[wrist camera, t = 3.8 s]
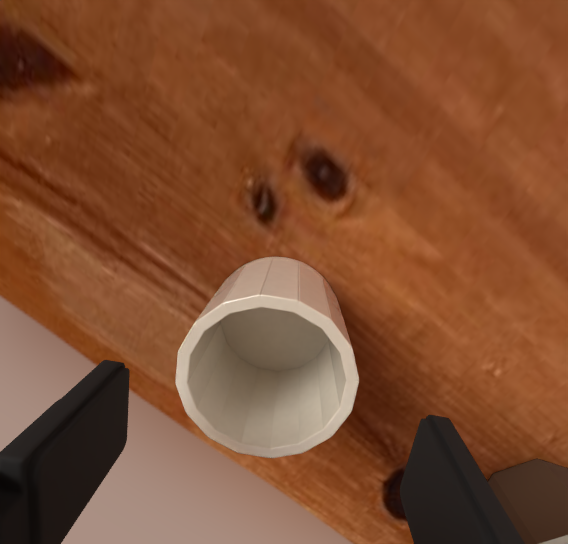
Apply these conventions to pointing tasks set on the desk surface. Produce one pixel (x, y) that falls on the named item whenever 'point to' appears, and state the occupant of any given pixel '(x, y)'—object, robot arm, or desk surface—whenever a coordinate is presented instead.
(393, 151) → the desk surface
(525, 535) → the beer bottle
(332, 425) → the ramekin
